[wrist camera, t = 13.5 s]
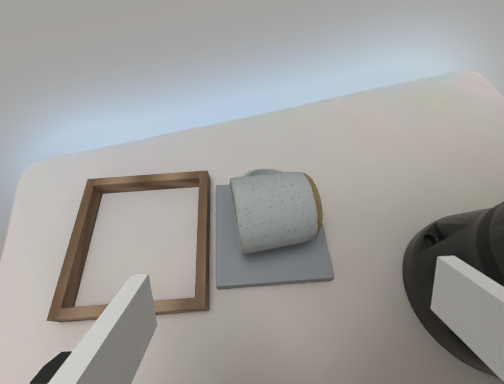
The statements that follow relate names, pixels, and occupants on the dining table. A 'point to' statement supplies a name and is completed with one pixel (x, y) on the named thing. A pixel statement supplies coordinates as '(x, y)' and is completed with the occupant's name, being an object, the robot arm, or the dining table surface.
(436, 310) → the robot arm
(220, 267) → the grey board
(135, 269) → the dining table surface
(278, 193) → the ceramic mug
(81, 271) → the walnut frame
